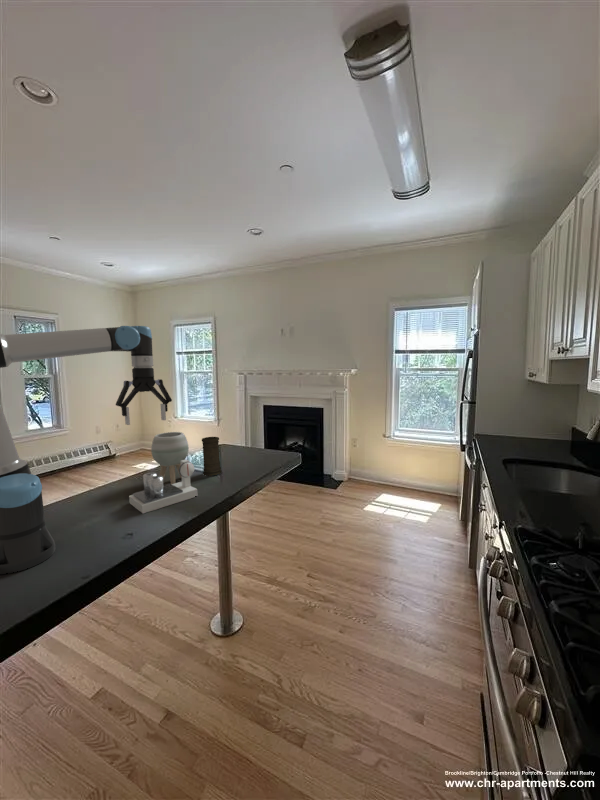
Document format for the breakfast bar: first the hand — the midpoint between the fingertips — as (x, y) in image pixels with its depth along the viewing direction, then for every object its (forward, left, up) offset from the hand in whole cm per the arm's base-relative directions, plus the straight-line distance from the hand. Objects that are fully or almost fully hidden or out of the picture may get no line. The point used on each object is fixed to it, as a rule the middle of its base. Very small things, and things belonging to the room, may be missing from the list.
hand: (146, 422), depth 132 cm
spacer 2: (0, -4, -28) cm, 29 cm away
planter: (+16, +18, -33) cm, 41 cm away
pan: (+2, -1, -29) cm, 29 cm away
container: (+35, +13, -33) cm, 50 cm away
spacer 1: (0, +2, -28) cm, 28 cm away
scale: (+4, -1, -32) cm, 33 cm away
